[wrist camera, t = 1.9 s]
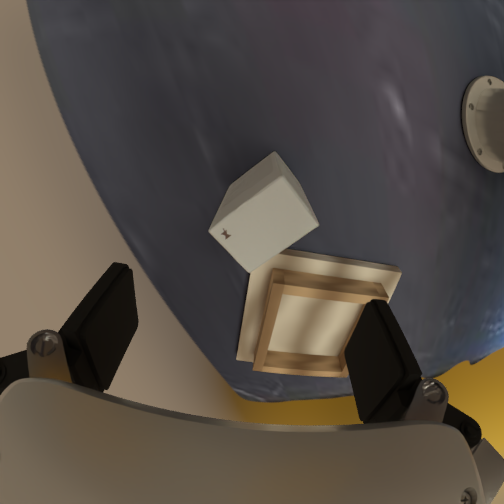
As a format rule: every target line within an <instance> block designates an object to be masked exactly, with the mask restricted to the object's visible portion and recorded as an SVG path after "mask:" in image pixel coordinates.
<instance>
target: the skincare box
mask: <svg viewBox="0 0 504 504" xmlns="http://www.w3.org/2000/svg"><path fill="white" fill-rule="evenodd" d="M318 226H319V222H318V220H317V218H316V216H315V214H314V212H313V210H312V208H311V206H310V204H309V202H308V200H307V198H306V196H305V193H304V191H303V189H302V187H301V185H300V183H299V181H298V180H297V179H296V177H295V176H294V175H293V173H292V172H291V171H290V169H289V168H288V167H287V165H286V164H285V163H284V162H283V160H282V159H281V158H280V156H279V155H278V154H277V153H276V152H275V151H274V152H272V153H271V154H270V155H268V156H267V157H266V158H264V159H263V160H262V161H260V162H259V163H258V164H257V165H255V166H254V167H253V168H251V169H250V170H249V171H247V172H246V173H245V174H244V175H242V176H241V177H240V178H239V179H237V180H236V181H235V182H233V183H232V184H231V185H230V186H229V188H228V190H227V192H226V194H225V196H224V199H223V201H222V203H221V205H220V207H219V209H218V211H217V213H216V215H215V217H214V219H213V222H212V224H211V226H210V228H209V233H210V234H211V235H212V236H213V237H214V238H215V239H216V240H217V241H218V242H219V243H220V244H221V245H222V246H223V247H224V248H225V249H226V250H227V251H228V252H229V253H230V254H231V255H232V256H233V257H234V258H235V260H236V261H237V262H238V263H239V264H240V265H241V266H242V267H243V268H244V269H245V270H246V271H247V272H248V273H251V272H252V271H254V270H255V269H257V268H258V267H260V266H261V265H262V264H264V263H265V262H267V261H268V260H270V259H271V258H273V257H274V256H276V255H277V254H279V253H280V252H281V251H283V250H284V249H286V248H287V247H289V246H290V245H291V244H293V243H294V242H296V241H297V240H298V239H300V238H301V237H303V236H304V235H306V234H307V233H309V232H310V231H312V230H313V229H314V228H316V227H318Z"/></svg>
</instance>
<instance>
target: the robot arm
mask: <svg viewBox="0 0 504 504" xmlns="http://www.w3.org/2000/svg"><path fill="white" fill-rule="evenodd" d="M462 124H463V130H464V135H465V138H466V141H467V145H468V147H469V149H470V151H471V153H472V155H473V156H474V158H475V159H476V160H477V162H478V163H479V164H480V165H481V166H483V167H484V168H486V169H488V170H490V171H492V172H496V173H501V172H504V82H503V81H501V80H500V79H498V78H496V77H493V76H480V77H478V78H476V79H474V80H473V81H472V82H471V83H470V84H469V86H468V88H467V89H466V92H465V95H464V98H463V104H462ZM137 327H138V315H137V307H136V299H135V290H134V281H133V271H132V269H129V267H128V265H127V264H122V263H117V262H114V263H113V264H112V265H111V266H110V267H109V268H108V269H107V271H106V272H105V273H104V274H103V275H102V276H101V278H100V279H99V280H98V281H97V283H96V284H95V285H94V286H93V288H92V289H91V290H90V291H89V292H88V294H87V295H86V296H85V297H84V299H83V300H82V301H81V302H80V304H79V305H78V306H77V308H76V309H75V310H74V312H73V313H72V314H71V315H70V317H69V318H68V320H67V321H66V322H65V323H64V325H63V326H62V328H61V329H60V330H59V332H58V333H57V332H55V331H53V330H48V329H47V330H41V331H38V332H37V333H35V334H33V335H32V336H31V338H30V339H29V341H28V343H27V350H25V351H21V352H18V353H15V354H11V355H8V356H5V357H2V358H0V504H491V502H492V501H493V499H494V497H495V496H496V494H497V492H498V491H499V489H500V487H501V486H502V483H503V482H504V459H503V458H502V456H501V455H500V454H499V453H498V452H497V451H496V450H495V449H494V448H493V446H492V445H491V444H490V443H489V442H488V441H487V440H486V439H485V438H483V439H482V440H481V435H482V434H481V428H480V426H479V424H478V423H477V422H476V421H475V420H474V419H472V418H471V417H469V416H468V415H466V414H464V413H463V412H461V411H460V410H458V409H456V408H455V407H453V406H452V405H450V404H449V403H448V397H449V396H448V392H447V390H446V388H445V386H444V385H443V384H442V383H441V382H439V381H438V380H436V379H433V378H426V379H423V380H422V379H421V375H422V372H421V370H420V367H419V365H418V363H417V361H416V359H415V357H414V354H413V352H412V350H411V348H410V346H409V344H408V342H407V340H406V338H405V336H404V334H403V332H402V330H401V328H400V326H399V324H398V322H397V320H396V318H395V316H394V315H393V313H392V311H391V309H390V307H389V305H388V303H387V302H386V300H380V299H372V300H371V301H370V302H367V303H366V305H365V307H364V309H363V312H362V314H361V316H360V318H359V320H358V323H357V325H356V327H355V329H354V331H353V333H352V335H351V337H350V339H349V341H348V343H347V345H346V347H345V351H344V357H345V360H346V364H347V368H348V372H349V376H350V380H351V384H352V388H353V392H354V397H355V401H356V405H357V410H358V414H359V418H360V420H361V421H363V423H364V424H354V425H333V426H332V425H330V426H298V425H273V424H259V423H248V422H238V421H230V420H222V419H215V418H209V417H202V416H196V415H191V414H185V413H180V412H175V411H170V410H166V409H161V408H157V407H153V406H148V405H145V404H141V403H137V402H133V401H130V400H126V399H122V398H119V397H116V396H112V395H109V394H106V393H103V391H104V390H108V389H109V386H110V384H111V382H112V380H113V378H114V376H115V373H116V371H117V369H118V367H119V365H120V363H121V361H122V358H123V356H124V354H125V352H126V350H127V348H128V346H129V344H130V342H131V340H132V337H133V336H134V334H135V332H136V330H137Z"/></svg>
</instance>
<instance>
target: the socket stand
mask: <svg viewBox="0 0 504 504" xmlns="http://www.w3.org/2000/svg"><path fill="white" fill-rule="evenodd" d="M401 274H402V272H401V271H400V269H399V268H398V267H397V266H391V265H385V264H379V263H373V262H366V261H360V260H354V259H348V258H342V257H335V256H329V255H323V254H316V253H310V252H304V251H297V250H291V249H284V250H283V251H281V252H280V253H279V254H277V255H276V256H274V257H273V258H271V259H270V260H268V261H267V262H265V263H264V264H262V265H261V266H260V267H258V268H257V269H255V270H254V271H252V272H251V273H250V278H249V284H248V291H247V297H246V303H245V309H244V315H243V321H242V327H241V333H240V339H239V345H238V351H237V358H236V360H241V361H249V362H253V370H254V371H262V372H271V373H281V374H292V375H306V376H323V377H347V376H348V374H349V372H348V368H347V364H346V360H345V357H344V351H345V347H346V345H347V343H348V341H349V339H350V337H351V335H352V333H353V331H354V329H355V327H356V325H357V323H358V320H359V318H360V316H361V314H362V312H363V309H364V307H365V305H366V303H367V302H370V301H371V300H372V299H380V300H386V302H387V303H389V300H390V298H391V296H392V294H393V292H394V290H395V287H396V285H397V283H398V281H399V278H400V276H401Z"/></svg>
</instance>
